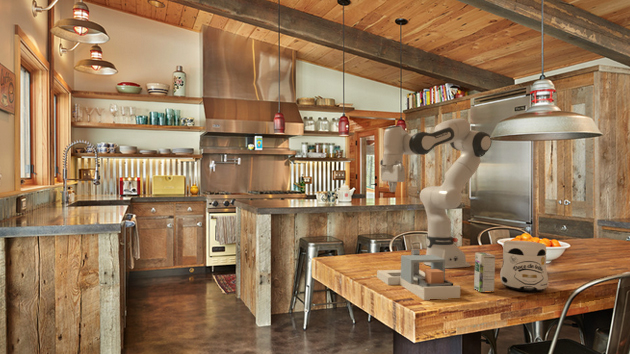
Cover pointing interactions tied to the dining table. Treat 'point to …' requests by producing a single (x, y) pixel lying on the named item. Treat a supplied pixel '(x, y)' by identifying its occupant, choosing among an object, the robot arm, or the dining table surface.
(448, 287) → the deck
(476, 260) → the syrup box
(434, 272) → the block
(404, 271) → the tunnel
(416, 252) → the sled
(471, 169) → the robot arm
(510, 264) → the milk container
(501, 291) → the dining table surface
